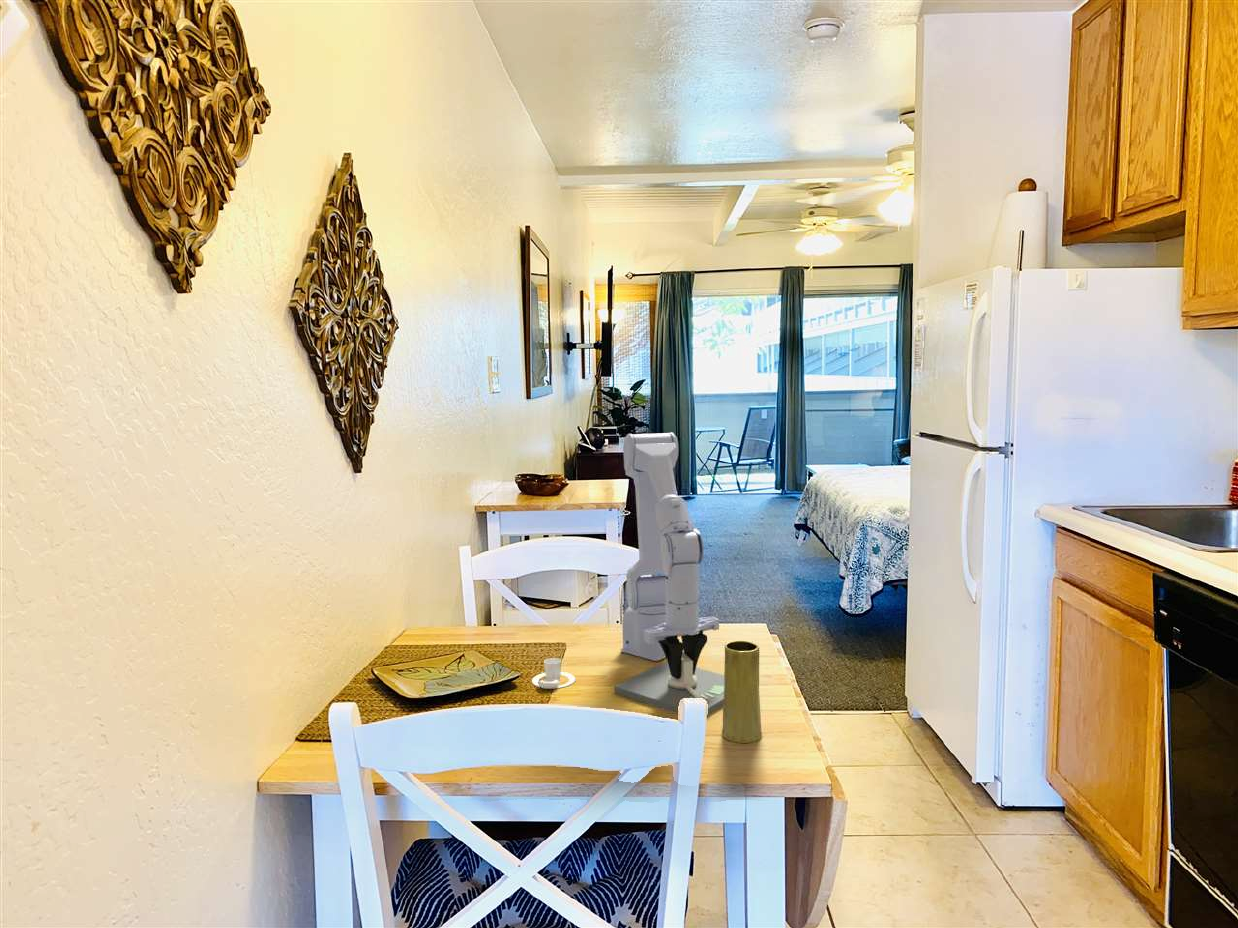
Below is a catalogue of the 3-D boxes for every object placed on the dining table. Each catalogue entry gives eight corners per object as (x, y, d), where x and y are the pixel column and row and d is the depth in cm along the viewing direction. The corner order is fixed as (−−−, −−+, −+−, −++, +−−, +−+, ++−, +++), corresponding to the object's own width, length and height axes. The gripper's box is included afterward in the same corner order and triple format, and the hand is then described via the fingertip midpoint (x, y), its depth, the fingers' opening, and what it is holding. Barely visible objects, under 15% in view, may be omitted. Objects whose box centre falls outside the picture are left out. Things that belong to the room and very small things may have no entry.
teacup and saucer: (552, 696, 140) (551, 673, 140) (519, 685, 145) (519, 664, 144) (584, 680, 147) (583, 658, 146) (552, 670, 152) (551, 650, 151)
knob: (663, 679, 142) (663, 652, 141) (690, 675, 143) (689, 649, 143) (686, 703, 132) (685, 674, 131) (713, 699, 133) (713, 670, 133)
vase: (752, 747, 119) (752, 655, 117) (715, 737, 122) (714, 648, 121) (767, 731, 124) (768, 643, 122) (731, 722, 127) (731, 636, 126)
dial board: (614, 692, 140) (614, 685, 140) (669, 666, 152) (669, 659, 152) (698, 720, 128) (698, 712, 128) (750, 689, 140) (750, 682, 140)
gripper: (659, 612, 131) (659, 691, 133) (729, 599, 138) (729, 674, 140) (637, 602, 137) (638, 677, 139) (705, 589, 144) (706, 661, 146)
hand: (682, 675), depth 140 cm, fingers closed on knob, 2 cm apart
